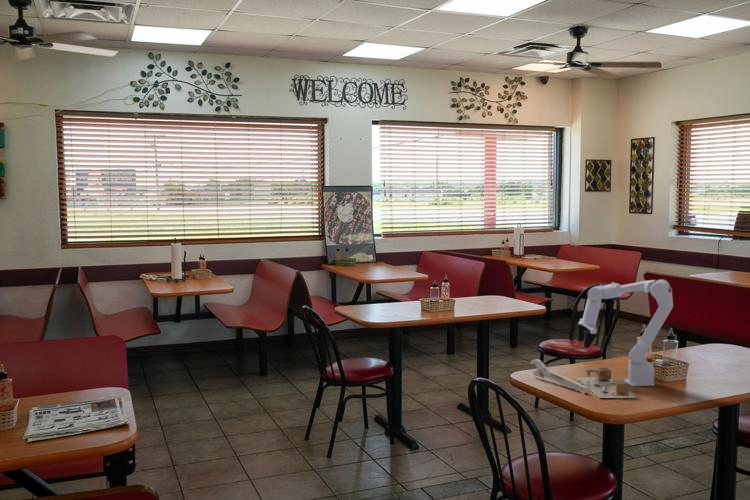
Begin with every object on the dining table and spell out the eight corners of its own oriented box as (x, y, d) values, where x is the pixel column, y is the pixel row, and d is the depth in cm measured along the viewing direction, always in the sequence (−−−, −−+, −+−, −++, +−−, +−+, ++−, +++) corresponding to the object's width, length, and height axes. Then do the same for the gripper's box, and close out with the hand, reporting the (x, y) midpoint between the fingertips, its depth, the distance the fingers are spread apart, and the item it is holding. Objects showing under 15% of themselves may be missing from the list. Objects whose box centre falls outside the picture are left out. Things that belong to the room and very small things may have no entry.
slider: (606, 375, 282) (606, 367, 282) (611, 379, 277) (611, 370, 277) (582, 376, 282) (582, 367, 282) (586, 379, 277) (586, 371, 277)
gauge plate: (609, 378, 283) (609, 367, 283) (635, 398, 257) (635, 385, 257) (576, 379, 283) (576, 367, 282) (599, 399, 257) (599, 386, 256)
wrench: (584, 401, 263) (528, 375, 288) (587, 401, 264) (531, 374, 289) (586, 382, 261) (530, 357, 286) (590, 381, 262) (533, 356, 287)
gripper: (576, 307, 291) (568, 336, 294) (587, 318, 277) (579, 348, 279) (591, 310, 291) (584, 339, 294) (604, 320, 277) (596, 351, 280)
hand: (583, 344), depth 287 cm, fingers open, 7 cm apart
